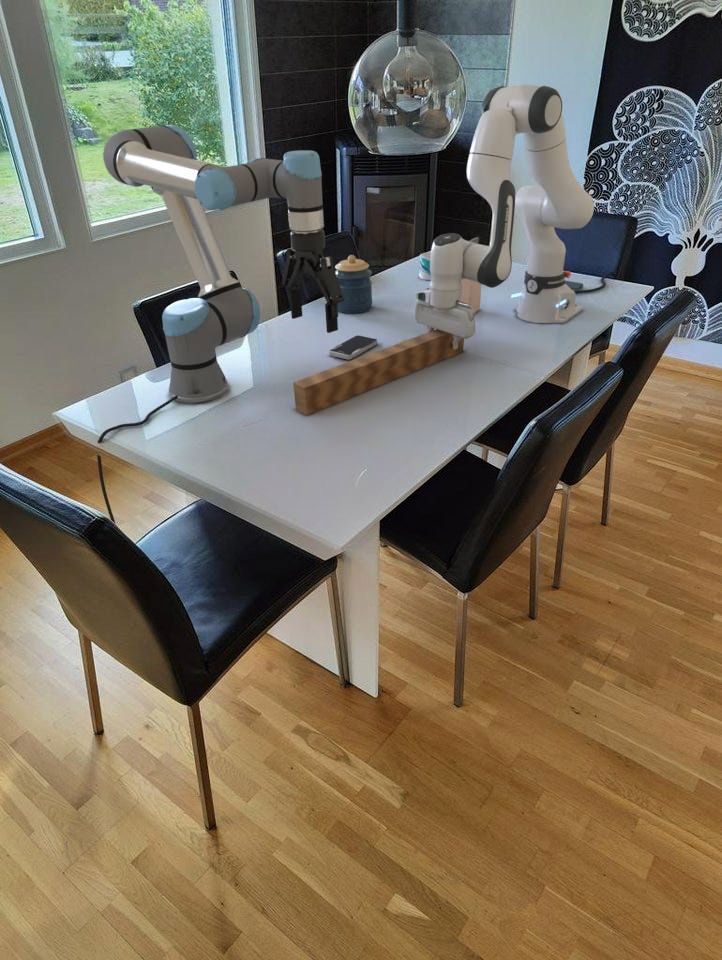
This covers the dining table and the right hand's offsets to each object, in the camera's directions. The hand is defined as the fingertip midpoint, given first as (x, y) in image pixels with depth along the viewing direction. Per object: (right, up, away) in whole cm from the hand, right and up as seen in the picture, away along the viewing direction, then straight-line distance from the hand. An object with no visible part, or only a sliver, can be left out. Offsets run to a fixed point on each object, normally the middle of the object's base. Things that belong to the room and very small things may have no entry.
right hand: (443, 344), depth 191 cm
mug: (+4, +40, +68) cm, 79 cm away
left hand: (-35, -2, -34) cm, 48 cm away
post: (-17, -11, -10) cm, 23 cm away
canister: (-26, +20, +39) cm, 51 cm away
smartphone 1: (-26, 0, +7) cm, 27 cm away
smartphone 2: (+48, +31, +51) cm, 76 cm away
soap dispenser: (+11, +18, +34) cm, 40 cm away
